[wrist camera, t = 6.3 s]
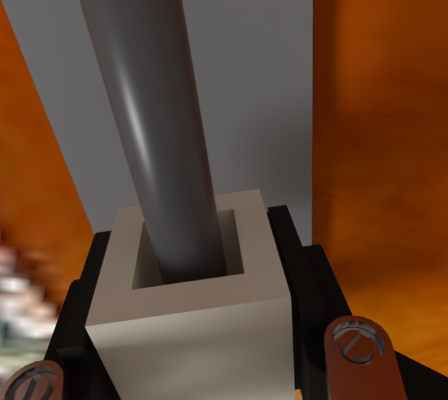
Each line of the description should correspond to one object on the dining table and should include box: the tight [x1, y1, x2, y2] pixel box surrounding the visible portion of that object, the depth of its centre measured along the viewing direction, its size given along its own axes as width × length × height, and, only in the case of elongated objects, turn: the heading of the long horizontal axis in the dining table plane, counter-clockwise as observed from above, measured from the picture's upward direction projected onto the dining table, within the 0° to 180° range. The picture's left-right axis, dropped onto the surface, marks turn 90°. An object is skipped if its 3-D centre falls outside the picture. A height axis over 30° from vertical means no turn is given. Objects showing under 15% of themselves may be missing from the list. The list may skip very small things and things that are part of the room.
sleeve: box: [85, 189, 295, 400], centre depth 10 cm, size 4×4×4 cm
